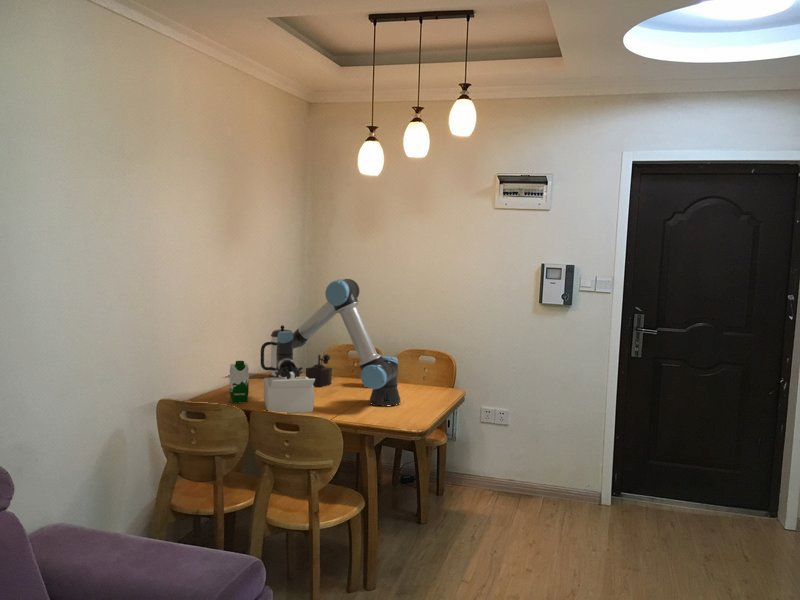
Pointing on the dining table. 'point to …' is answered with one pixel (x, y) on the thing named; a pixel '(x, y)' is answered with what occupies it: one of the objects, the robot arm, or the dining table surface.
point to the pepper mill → (320, 372)
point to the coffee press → (272, 352)
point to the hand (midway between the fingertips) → (292, 377)
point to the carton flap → (292, 383)
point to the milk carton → (239, 382)
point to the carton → (288, 397)
